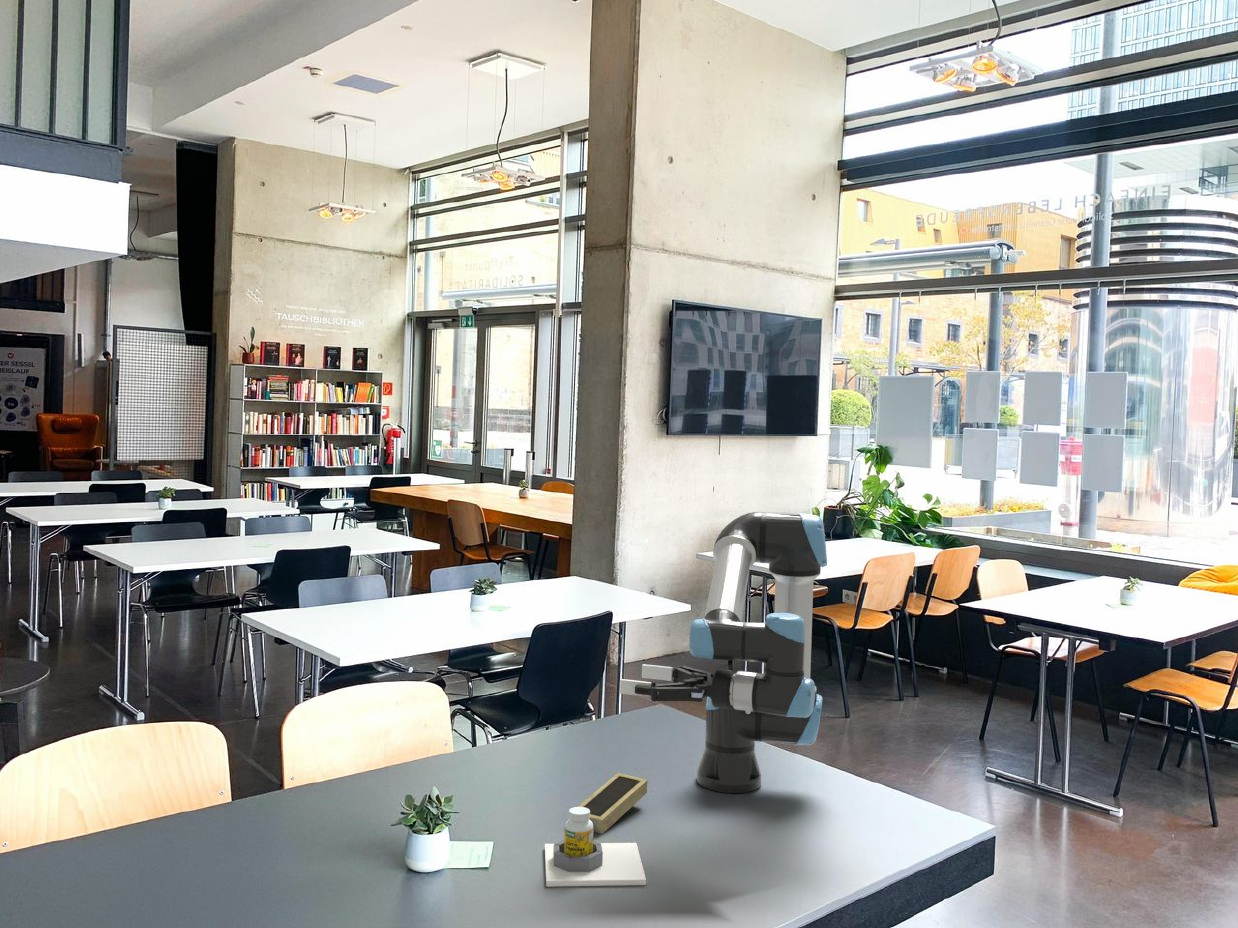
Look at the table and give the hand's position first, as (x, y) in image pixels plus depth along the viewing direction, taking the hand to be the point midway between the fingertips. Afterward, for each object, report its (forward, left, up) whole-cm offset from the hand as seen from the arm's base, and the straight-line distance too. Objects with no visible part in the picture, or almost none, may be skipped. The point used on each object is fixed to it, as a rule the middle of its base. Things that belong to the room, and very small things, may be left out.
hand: (631, 678), depth 200 cm
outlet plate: (+8, +15, -32) cm, 36 cm away
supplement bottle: (+11, +15, -31) cm, 36 cm away
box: (+4, -8, -32) cm, 33 cm away
